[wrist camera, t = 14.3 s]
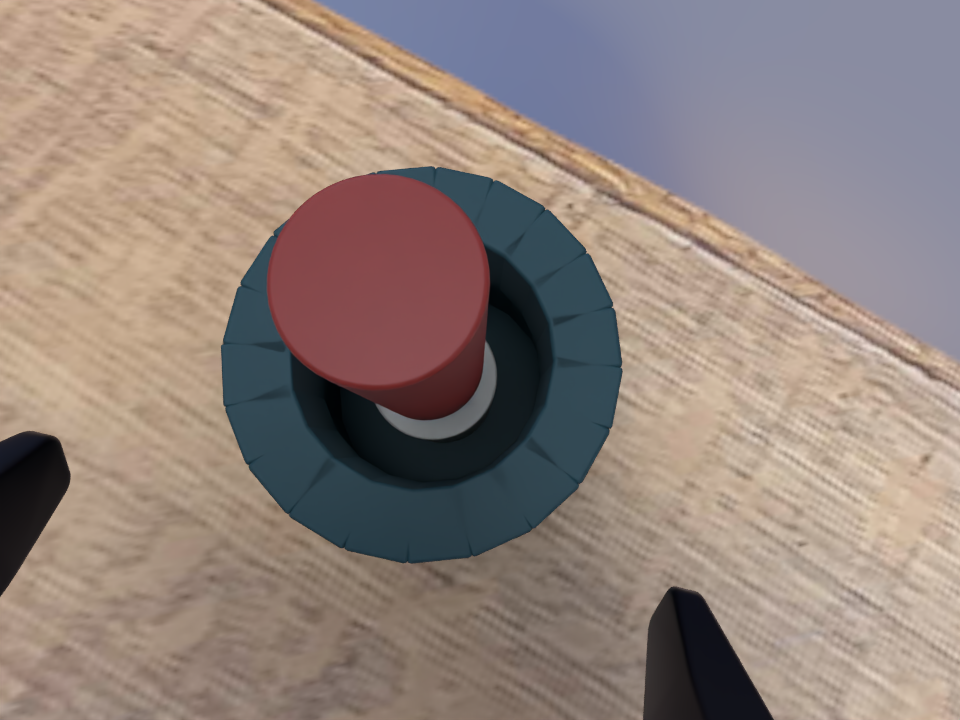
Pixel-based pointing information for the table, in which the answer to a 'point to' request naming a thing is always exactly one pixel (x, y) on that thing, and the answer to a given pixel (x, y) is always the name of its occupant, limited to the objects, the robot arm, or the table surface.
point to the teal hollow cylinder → (426, 464)
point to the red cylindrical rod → (389, 301)
